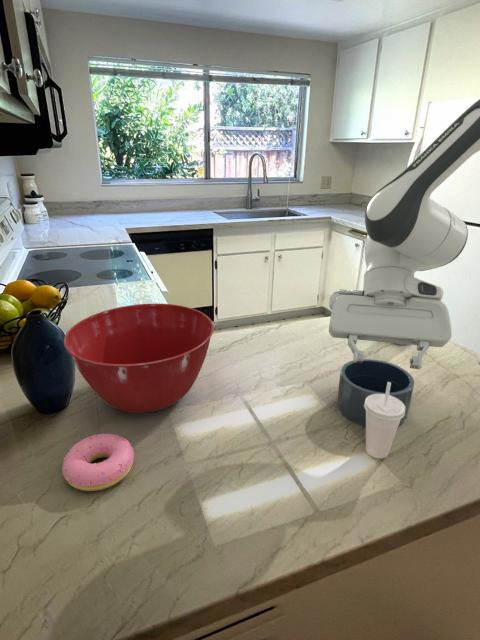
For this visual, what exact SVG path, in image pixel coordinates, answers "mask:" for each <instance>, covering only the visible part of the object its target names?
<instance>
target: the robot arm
mask: <svg viewBox="0 0 480 640" xmlns="http://www.w3.org/2000/svg"><path fill="white" fill-rule="evenodd" d="M479 152H480V98H479V99H478V100H476V101H475V102H474V103H473V104H472V105H470V107H468V108H467V109H466V110H465V111H464V112H463V113H462V114H460V116H458V117H457V118H455V120H453V122H452V123H451V124H450V125H449V126H448V127H447V128H446V129H445V130H444V131H442V133H441V134H440V135H439V136H438V137H436V138H435V139H434V140H433V141H432V143H430V144H429V146H427V147H426V148H425V149H424V150H423V152H421V153H420V154H419V155H418V156H417V157H416V158H415V159H414V160H413V161H412V162H411V163H410V164H409V165H408V166H407V167H406V168H405V169H404V170H403V171H402V172H400V174H398V175H397V176H396V177H395V178H394V179H391V181H389V182H387V184H385V185H384V186H382V187H381V188H380V189H379V190H378V191H376V192H375V194H373V195H372V197H371V198H370V199H369V201H368V203H367V205H366V208H365V212H364V226H365V230H366V233H367V235H366V239H365V245H364V246H365V247H364V262H365V266H366V267H365V272H364V275H363V288H362V290H359V289H352V290H351V289H344V288H341V289H338V290H336V291H333V292H332V293H331V294H330V296H329V302H328V306H329V309H330V310H331V314H330V318H329V326H328V333H329V335H330V336H331V338H335V339H345V340H346V339H347V346H348V347H349V349H350V350H351V351H350V352H351V353H352V354H353V357H352V361H353V362H354V363H362V362H363V359H364V357H363V356H364V350H359V348H358V346H357V343H358V342H357V341H367V342H379V343H389V344H395V343H399V344H407V345H411V346H412V345H413V346H416V351H418V354H417V355H412V356H411V358H410V359H409V363H410V365H409V369H413V370H421V368H422V366H423V357H424V356H425V354H426V353H427V351H428V349H429V347H431V348H432V347H434V348H443V347H445V345H447V344H448V343H449V342H450V341H451V338H452V333H453V332H452V324H451V322H452V321H451V316H450V312H449V309H448V307H447V304H446V303H445V302H444V301H442V299H443V296H444V289H443V288H442V287H441V286H440V285H436V284H434V283H431V282H428V281H424V280H422V279H419V278H417V277H415V273H416V272H424V271H425V272H426V271H429V270H430V271H431V270H433V269H437V268H440V267H444V266H447V265H449V264H450V263H452V262H453V261H454V260H456V259H457V258H458V257H459V256H460V255H461V254H462V252H463V250H464V249H465V247H466V244H467V241H468V237H469V230H468V225H467V224H466V222H465V221H464V220H463V219H461V218H460V217H459V216H458V215H456V214H455V213H454V212H452V211H450V210H449V209H447V208H446V207H444V206H442V205H441V204H439V203H438V202H436V201H435V200H434V199H432V198H431V196H432V194H433V192H434V191H435V190H437V188H438V187H440V186H441V185H442V184H443V183H444V182H445V181H446V180H447V179H448V178H449V177H451V176H452V174H454V173H455V172H456V171H457V170H458V169H459V168H460V167H461V166H462V165H463V164H464V163H466V162H467V161H468V160H469V159H470V158H471V157H472V156H473V155H475V154H477V153H479ZM399 344H398V345H399Z"/></svg>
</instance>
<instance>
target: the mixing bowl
mask: <svg viewBox="0 0 480 640" xmlns="http://www.w3.org/2000/svg"><path fill="white" fill-rule="evenodd" d="M214 330H215V326H214V323H213V320H212V319H211V318H210V317H209V316H208V315H207V314H205V313H204V312H202V311H200V310H198V309H195V308H192V307H188V306H184V305H179V304H172V303H153V302H152V303H151V302H150V303H138V304H131V305H124V306H118V307H113V308H110V309H105V310H103V311H100V312H97V313H95V314H92V315H89V316H87V317H86V318H83V319H82V320H80V321H78V322H76V323H75V324H74V325H73V326H71V328H69V330H68V331H67V332H66V333H65V335H64V339H63V347H64V348H65V350H66V351H67V353H69V355H70V357H71V359H72V360H73V363H74V365H75V366H76V368H77V370H78V372H79V373H80V374H81V377H83V379H84V380H85V382H86V383H87V384H88V386H89V387H90V388H91V389H92V390H93V392H94V393H95V394H96V395H97V396H98V397H99V398H100V399H101V400H102V401H103V402H104V403H106V405H108V406H110V407H112V408H113V409H117V410H120V411H123V412H127V413H134V412H135V413H134V414H147V413H146V412H149V413H154V412H158V411H161V410H164V409H167V408H168V407H170V406H172V405H174V404H176V403H177V402H179V401H181V399H183V398H184V397H185V396H186V395H187V394H188V393H189V392H190V390H191V389H192V387H193V385H194V383H195V382H196V380H197V378H198V376H199V374H200V372H201V370H202V367H203V365H204V362H205V359H206V358H207V357H206V356H207V353H208V349H209V347H210V343H211V337H212V336H213V334H214V332H215V331H214ZM157 410H158V411H157ZM153 411H154V412H153Z"/></svg>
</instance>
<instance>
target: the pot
mask: <svg viewBox="0 0 480 640" xmlns="http://www.w3.org/2000/svg"><path fill="white" fill-rule="evenodd" d="M387 382H391V386H390V392H389V395H390V396H393V397H395V398H397V399H399V400H400V401H401V402H402V403H403V404H404V405H405V415H404V417H403V418H401V420H400V423H399V426H398V427H400V426H401V425H404V423H405V422H406V421H407V420H408V416H409V412H410V407H411V403H412V402H411V401H412V395H413V393H414V392H413V391H414V387H415V380H414V377H413V376H412V375H411V373H409V372H408V371H407V370H405V368H402V367H401V366H399V365H396V364H394V363H391V362H389V361H384V360H380V359H372V358H363V362H362V363H354V362H353V360H350V361H348V362H346V363H344V364H343V365H342V366H341V368H340V372H339V382H338V387H337V388H338V389H337V396H336V397H337V399H336V405H337V409H338V411H339V412H340V413H341V414H342V416H344V417H345V419H348V420H349V421H351V422H353V423H354V424H357V425H359V426H363V427H365V428H366V409H365V407H364V404H365V399H366V398H367V397H368V396H370V395H373V394H385V393H386V388H387Z"/></svg>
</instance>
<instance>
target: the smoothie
mask: <svg viewBox="0 0 480 640" xmlns="http://www.w3.org/2000/svg"><path fill="white" fill-rule="evenodd" d="M390 386H391V382H387V388H386V393H385V394H373V395H370V396H368V397H367V398H366V399H365V404H364V407H365V409H366V427H365V452H366V454H368V455H369V456H370V457H372V458H374V459H380V460H382V459H386V458H387V457H388V455H389V453H390V450H391V448H392V444H393V442H394V440H395V437H396V435H397V430H398V428H399V427H400V426H399V423H400V420H401V418H403V417H404V415H405V405H404V404H403V403H402V402H401V401H400V400H399V399H397V398H395V397H393V396H390V395H389V392H390Z"/></svg>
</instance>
